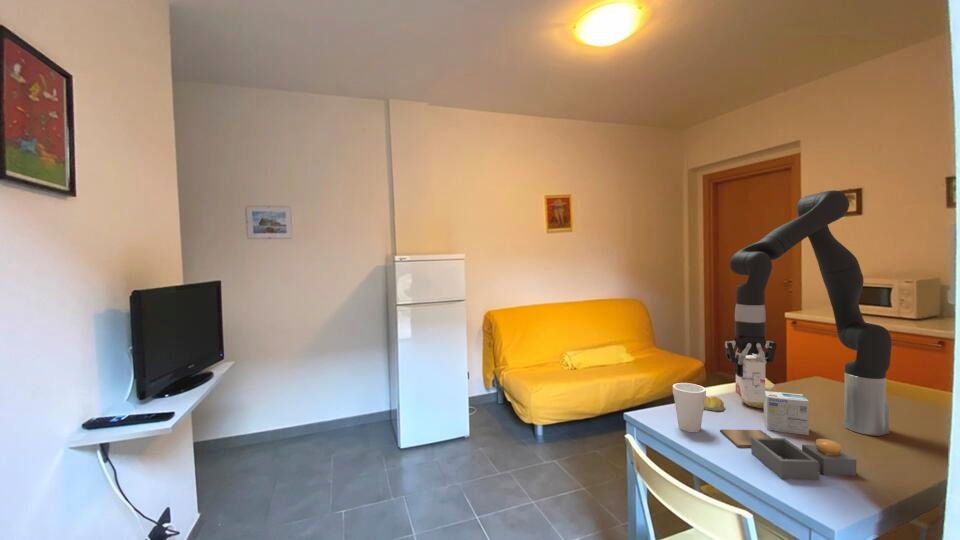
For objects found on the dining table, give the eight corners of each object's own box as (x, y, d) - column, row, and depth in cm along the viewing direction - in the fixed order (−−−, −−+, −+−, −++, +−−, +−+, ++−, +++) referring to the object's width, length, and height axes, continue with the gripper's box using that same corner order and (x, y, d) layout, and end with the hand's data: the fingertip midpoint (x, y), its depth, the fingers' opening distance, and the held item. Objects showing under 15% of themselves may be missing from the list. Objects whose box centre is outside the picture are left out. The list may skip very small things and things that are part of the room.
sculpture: (734, 405, 147) (734, 376, 146) (743, 397, 155) (743, 369, 154) (772, 414, 138) (772, 383, 138) (780, 404, 146) (780, 375, 146)
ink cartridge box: (734, 392, 124) (734, 344, 124) (752, 392, 123) (752, 345, 123) (746, 402, 116) (747, 351, 115) (766, 403, 115) (766, 352, 114)
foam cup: (667, 422, 134) (667, 383, 133) (694, 420, 134) (693, 382, 134) (683, 435, 124) (683, 393, 124) (712, 433, 125) (712, 391, 124)
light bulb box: (803, 427, 128) (803, 393, 127) (809, 436, 121) (810, 400, 121) (762, 422, 132) (762, 389, 132) (767, 430, 126) (767, 396, 126)
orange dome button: (830, 459, 106) (830, 438, 106) (845, 469, 102) (845, 447, 101) (811, 459, 107) (811, 438, 107) (825, 469, 102) (825, 447, 102)
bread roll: (696, 401, 152) (696, 391, 152) (724, 406, 147) (724, 395, 147) (694, 409, 145) (694, 398, 144) (723, 413, 140) (723, 402, 140)
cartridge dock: (825, 455, 110) (825, 438, 110) (864, 480, 98) (865, 462, 97) (751, 453, 112) (751, 437, 112) (781, 479, 99) (781, 461, 99)
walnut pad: (760, 432, 125) (760, 429, 125) (782, 448, 115) (782, 445, 115) (720, 432, 126) (720, 429, 126) (737, 447, 116) (737, 444, 116)
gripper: (767, 317, 122) (767, 372, 123) (718, 317, 123) (718, 372, 124) (784, 321, 114) (783, 380, 115) (731, 321, 116) (731, 380, 116)
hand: (749, 375), depth 120 cm, fingers closed on ink cartridge box, 5 cm apart
